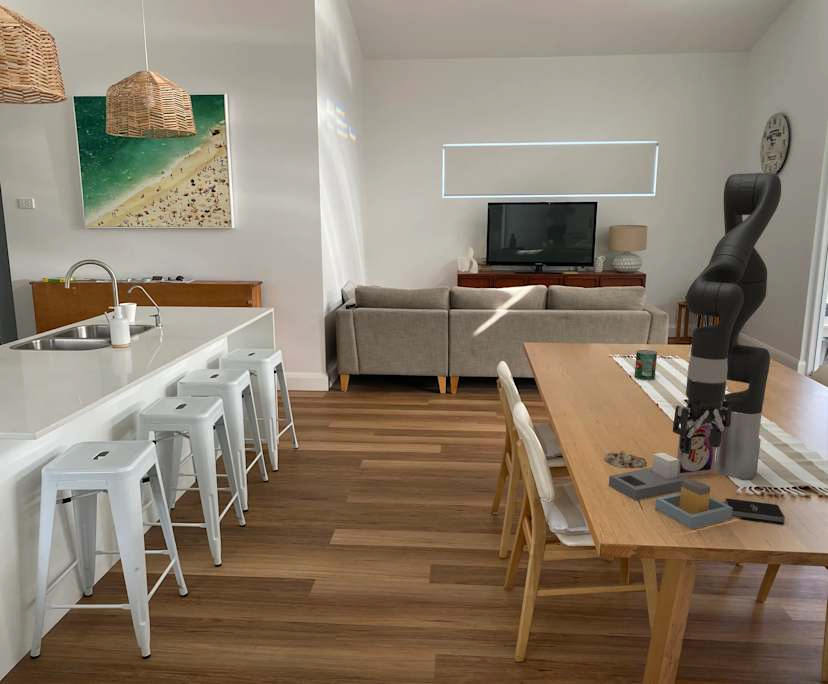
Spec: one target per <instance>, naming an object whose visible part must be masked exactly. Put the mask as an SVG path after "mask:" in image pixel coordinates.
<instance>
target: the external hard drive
mask: <svg viewBox="0 0 828 684" xmlns="http://www.w3.org/2000/svg"><path fill="white" fill-rule="evenodd" d="M723 503H724V504H726V505H729V506H731V507H733V510H732V517H735V518H736V519H737V520H744V521H750V522H752V521H753V522H757V523H758V522H759V523H766V524H767V523H768V524H772V525H773V524H774V525H782V526H783V525H784V524H785V521H786V516H785V515H784V513H783V511H782V509H781V508H780V506H779V505H778V504H776V503H769V502H767V503H766V502H759V501H754V500H753V501H752V500H743V499H738V498H737V499H735V498H730V497H729V498H728V497H727V498H724V502H723Z"/></svg>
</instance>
